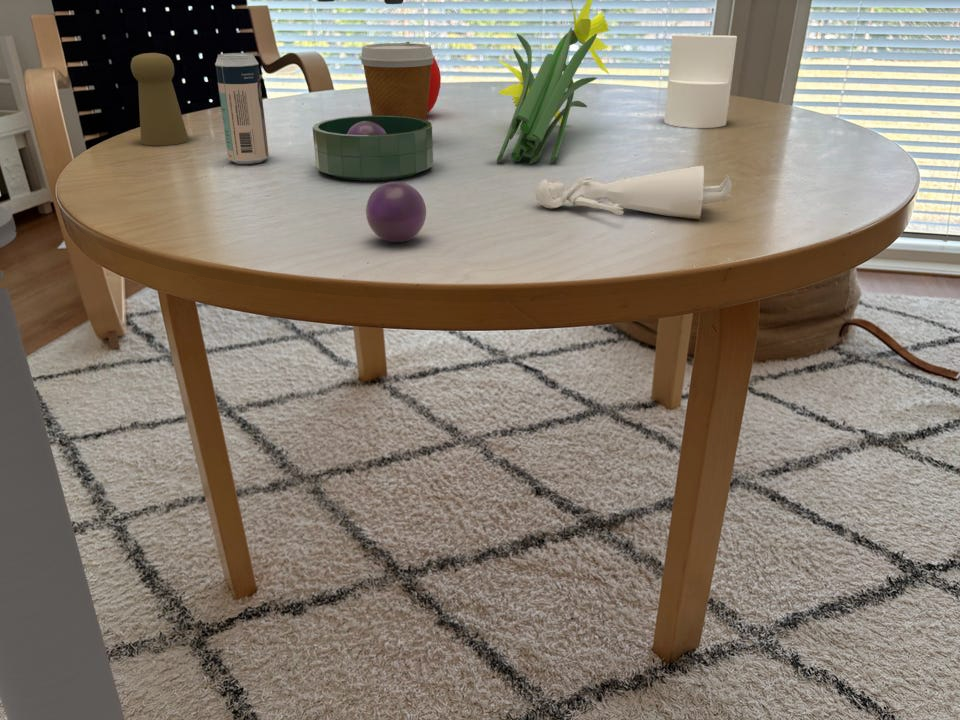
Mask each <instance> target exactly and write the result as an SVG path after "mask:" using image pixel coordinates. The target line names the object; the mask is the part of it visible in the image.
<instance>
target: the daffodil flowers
mask: <svg viewBox="0 0 960 720" xmlns="http://www.w3.org/2000/svg"><path fill="white" fill-rule="evenodd" d="M570 3H571V8H572V14H573V15H572V16H573V26H571V27H569V30H568V31H567V33H565V34H564V36H563V37H562V38H561V39H560V41H559V42H558V43H557V45H556V47H555V49H554V51H553V53H547V54H546V56H545V57H544V59H543V61H542V64H541V65H540V67H539V69H538V72H537V73H536V75H535V77H534V74H533V71H532V65H533V64H532V63H533V62H532V58H533V55H532V54H533V53H532V47H531V45H530V43H529V42H528V41H527V39H526V38H524V36H522V35H521V34H519V33H516V36H517V39H518V40H519V42H520V43H521V45H522V47H523V49H524V51H525V54H526V57H527V62H525V61H524V59H523V57H522V56H521V55H520V53H519V52H518V51H517V50H516V49H515V48H512V51H513V54H514V56H515V58H516V60H517V63H518V66H519V68H520V70H518V69H517V68H515V67H514V66H512V65H510V64H508V63H506V62H505V61H503V60H501V59H499V58H497V61H498V62H499V63H500V64H501V65H503V66H505V67H506V68H507V69H508V71H510V72H511V73H512V74H513V76H515V77H516V79H518V81H519V82H517V83H515V84H511V85H509V86H506V87H505V88H503V89H501V90H498V92H497V93H498V94H500V95H502V96H511V97H512V99H511V100H513V102H512V103H513V104H514V107H516V108H515V111H514V113H513V116H512V119H511V122H510V125H509V127H508V131H507V133H506V136H505V138H504V141H503V144H502V146H501V149H500V151H499V154H498V156H497V158H496V164H499V163H501V161H502V159H503V157H504V155H505V152H506V150H507V147H508V145H509V142H510V141H511V140H513V138H514V136H515V134H516V132H517V131H518V128H520V134H519V136H518V139H517V141H516V143H515V145H514V147H513V150H512V152H511V154H510V156H511V159H512V161H515V162H516V163H517V162H518V163H519V162H521V160H522V158H523V156H524V157H526V158H531V159H530V161H529V164H530V165H532V164H534V163H536V162H537V161H538V160H539V158H540V156H541V154H542V152H543V149H544V147H545V145H546V143H547V141H548V139H549V137H550V136H551V134H552V132H553V130H554V129H555V127H556V126H557V124H558V123H559V124H560V125H559V129H558V133H557V136H556V141H555V145H554V148H553V151H552V154H551V157H550V161H549V164H550V165H552V164H553V163H555V162H556V161H557V158H558V155H559V152H560V149H561V145H562V143H563V142H562V141H563V139H564V135H565V132H566V131H565V130H566V128H567V127H566V126H567V122H568V119H569V114H570V111H571V108H572V107H573V108H574V107H577V108H588V105H587V104H586V103H585V102H582V101H581V100H573V99H574V95H575V91H577V90H578V89H579V88H581V87H583V86H585V85H587V84H589V83H592V82H594V81H595V80H597V79H598V77H593V76H592V77H590V76H589V77H583V78H580V79H578V80H576V81H574V80H573V78H574V76H575V74H576V73H577V71H578V68H579V67H580V66H581V64H582V62H583V61H584V59H585V57H586V56H587V53H588V52H589V53H590V55H591V57H592V59H593V60H594V62H595V64H596V65H597V67H599V69H600V70H602V71H604V73H607V74H608V75H609V76H610V72H609V70H608V69H607V67H606V65H605V64H604V62H603V61H602V59H601V57H600V56H599V54H598V52H597V51H601V50H605V49H607V48H608V46H607V45H606V44H605V43H604V42H603V41H601V40H600V39H599V38H597V35H598V34H601V33H605V32H606V33H607V32H610V31H611V29H610V27H609V23H607V19H605V18H606V16H605V15H604V14H605V13H604V11H603V10H602V11H600V12H599V13H598V14H596V15H595V16H593V18H591V19H590V11H591V8H592V4H593V0H587V1H586V2H585V3H584V5H583V7H582V8H581V10H580V12H579V14H578V16H577V14H576V11H575V8H574V4H573V0H570ZM578 42H579V44H581V46H580V47H579V48H578V49H577V50H576V52H575V53H574V54H573V55H572V56H571V58H570V60H569V62H568V63H567V60H568V55H569V51H570V46H572V45H574V44H577V43H578ZM565 102H566V104H565ZM563 104H565V106H564V108H563V109H562V110H560V109H561V108H562V106H563Z"/></svg>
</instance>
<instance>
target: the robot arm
mask: <svg viewBox="0 0 960 720" xmlns="http://www.w3.org/2000/svg"><path fill="white" fill-rule="evenodd" d="M316 1H317V2H319V3H320V2H323V3H324V2H325V3H326V2H327V3H329V2H334V1H335V0H316ZM383 2H384V3H385V4H386V5H402V4H403V3H404V0H383Z"/></svg>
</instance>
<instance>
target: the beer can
mask: <svg viewBox="0 0 960 720" xmlns="http://www.w3.org/2000/svg"><path fill="white" fill-rule="evenodd" d="M214 65H215V71H216V78H217V86H218V87H217V88H218V94H219V102H220V109H221V116H222V122H223V124H222V125H223V130H224V138H225V145H226V153H227V159H228V160H229V161H231V162H233V163H234V164H237V165H255V164H260V163H263V162H265V160H266V159H268V158H269V156H270V154H269V153H270V152H269V147H268V137H267V136H268V135H267V128H266V118H265V110H264V101H263V94H262V92H263V91H262V84H261V76H260V75H261V74H260V66H259V61H258V60H257V59H256V57H255V55H254V53H252V52H251V53H249V52H231V53H230V52H228V53H220V54H219V53H218V54H217V57H216V61H215V63H214Z"/></svg>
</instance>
